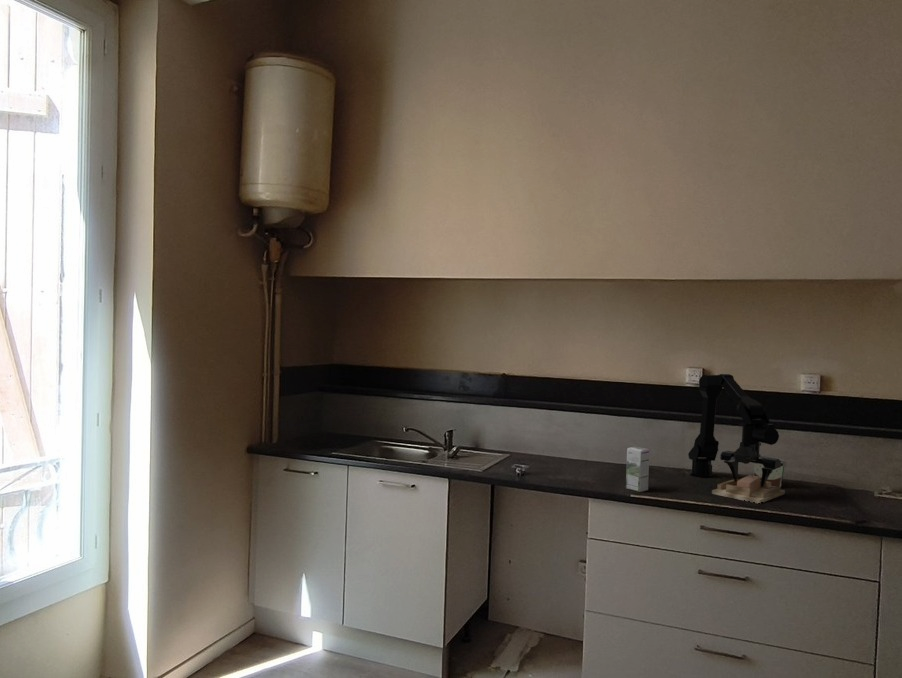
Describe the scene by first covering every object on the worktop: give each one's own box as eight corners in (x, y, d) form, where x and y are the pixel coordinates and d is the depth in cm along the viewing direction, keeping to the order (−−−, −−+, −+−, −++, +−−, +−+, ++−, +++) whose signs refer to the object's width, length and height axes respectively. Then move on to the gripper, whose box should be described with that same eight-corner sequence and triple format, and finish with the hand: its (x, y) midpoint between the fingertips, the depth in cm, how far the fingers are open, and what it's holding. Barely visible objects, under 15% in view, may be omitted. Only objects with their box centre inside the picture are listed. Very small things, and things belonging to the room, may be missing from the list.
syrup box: (648, 490, 228) (650, 448, 228) (639, 492, 224) (640, 450, 224) (634, 486, 233) (636, 446, 232) (624, 489, 229) (626, 447, 228)
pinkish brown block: (736, 492, 224) (737, 481, 224) (748, 486, 234) (748, 474, 234) (748, 494, 221) (749, 483, 221) (760, 488, 232) (760, 476, 232)
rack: (711, 493, 226) (712, 483, 226) (739, 484, 241) (739, 475, 241) (759, 503, 214) (759, 492, 214) (784, 493, 230) (785, 483, 229)
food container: (791, 486, 241) (792, 459, 241) (784, 489, 237) (785, 461, 237) (757, 480, 250) (758, 454, 250) (750, 482, 246) (751, 455, 246)
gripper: (714, 437, 229) (712, 482, 229) (769, 446, 215) (767, 493, 215) (728, 434, 236) (726, 477, 237) (782, 442, 223) (780, 488, 223)
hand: (748, 484), depth 228 cm, fingers open, 9 cm apart
